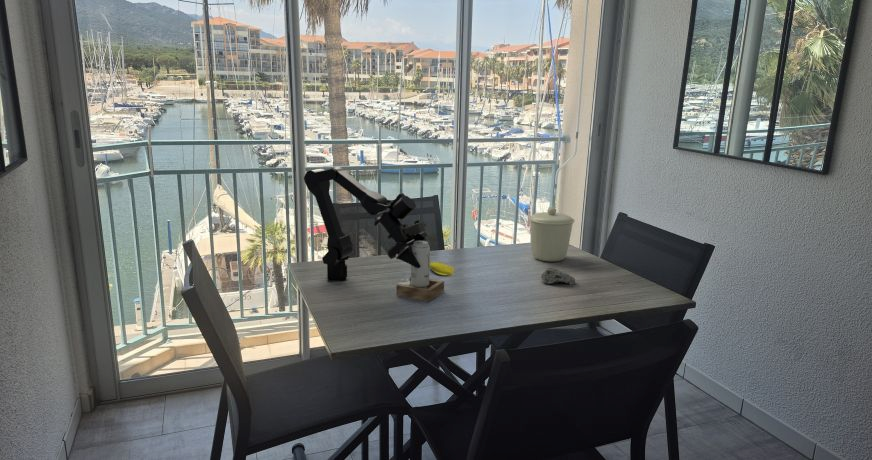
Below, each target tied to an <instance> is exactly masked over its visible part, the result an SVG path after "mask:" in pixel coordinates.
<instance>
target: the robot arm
mask: <svg viewBox="0 0 872 460" xmlns="http://www.w3.org/2000/svg"><path fill="white" fill-rule="evenodd" d="M303 180H304V183H305V186H306V188H307V189H308V191H309V192H310V193H311V194H312V195H313V196H314V198H315V201H316V203H317V207H318V209H319V212H320V216H321V220H322V222H323V225H324V227H325V230H326V234H327V237H328V238H327V243H326V247H327V252H326V253H325V255H323V256H322V257H321V259H322V262H323V264H324V265H326V269H327V271H326V272H327V273H326V274H327V275H326V281H327V282H340V281H341V282H342V281H343V282H344V281H347V277H348V264H346V261H348V260H349V257H350V256H351V255H352V253H353V250H354V249H353V246H354V244H353V242H352V240H351V236H350V234H345V232H343V231H342V227H341V225H340V222H339V219H338V216H337V212H336V210H335V207H334V204H333V200H332V198H331V195H330V187H331V180H332V181H334V182H335V183H336V184H338V185H339V186H340V187H342V188H343V189H344V190H345V191H347V192H348V193H349V194H350V195H352V196H353V197H354V198H356V200H358V201H359V203H360V205H361V207H362V209H364V211H366V212H367V214H369V215H371V216H376V215H379V214H381V215H380V216H376V217H374V224H373V226H374V227H376V226H380V225H381V227H383V229H384V230H385V232H387V233H386V234H388V236H387V238H388V239H389V240H391V239H392V240H393V242H394V244H393V245H392V246H391V247H390V248H389V249H388V250H387V251H386V252H387V253H386V254H387V257H388V258H389V259H390V260H393V259H395V258H396V260H400V261H403V263H407V264H408V265H410V266H411V265H412V266H414V267H416V268H420V267H421V266H420V264H419V262H418V261H417V259H416V258H415V256H414V255H413V253H412V245H413V242H414V241H426V239H427V238H428V237H429V235H428V234H427V233H426V232H425V231H426V223H425V222H424V221H423V220H422V219H421V218H420V219H417V220H415V221H414V224H412V225H408V224H407V223H404V224H403V222H402V221H401V220H405V219H406V218H407V217H408V216H409V215H410V214H411V213H412V212H413V211H414V210H415V209H416V208H417V205H416V203H415V200H414V199H412V198H411V197H410V196H408V195H405V193H403V192H401V193H399V194H398V195H397V196H396V198H394V199H393V200H391V199H387V197H386V196H385V195H383V194H381V193H378V192H376V191H373V190H371V189H369V188H367V187H366V186H364V185H363V184H362V183H361V182H359V181H358V180H357V179H355V178H354V177H353V176H351V175H350V174H349V173H348V172H346V171H345V170H344V168H343V167H341V166H336V167H332V168H329V169H326V170H325V169H323V168H317V169H310V170H308V171H306V172H305V174H304V176H303Z"/></svg>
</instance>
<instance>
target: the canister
mask: <svg viewBox="0 0 872 460" xmlns="http://www.w3.org/2000/svg"><path fill="white" fill-rule="evenodd" d="M528 220H529V225H530V226H529V227H530V229H529V230H530V231H529V232H530V245H531V253H532V256H533V257H534V258H535V259H536V260H539V261H541V262H549V263H550V262H551V263H553V262H555V263H556V262H561V261H563V260H564V259H565V258H566V256H567V254H568V250H569V246H570V241H571V240H570V239H571V235H572V228H573V224H574V223H575V219H574V218H573V217H571V216H570V215H568V214H566V213H565V214H564V213H561V212H560V213H559V212H557V209H556V207H554V206H553V207H552V206H551V207H550V206H549V207H548V209H547V211H546V212H545V211H544V212H535V213H533V214H532V215H530V216H528Z"/></svg>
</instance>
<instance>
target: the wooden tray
mask: <svg viewBox="0 0 872 460" xmlns="http://www.w3.org/2000/svg"><path fill="white" fill-rule="evenodd" d="M409 281H410V284H409V285H403V284H399V283H398V284H396V287H395V288H396V293H395V294H396V296H399V297H404V298H409V299H415V300H419V301H420V300H421V301H426V302H431V301H432V300H433V299H435V298H436V297H438V296H439V295H441V294H442V293H444V292H445V281H444V280H439V279H433V278H429V285H428V286H427V288H420V287H414V286H412V285H411V276H410V277H409Z"/></svg>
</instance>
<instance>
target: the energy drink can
mask: <svg viewBox="0 0 872 460" xmlns="http://www.w3.org/2000/svg"><path fill="white" fill-rule="evenodd" d="M412 253H413V255H414V256H415V258H416V259H417V261H418V262H419V264H420V266H421V267H420V268H416V267H414V266H412V265H410V277H411V285H412V286H414V287H420V288H427V286H428V285H429V279H430V269H431V268H430V262H431V260H430V258H431V257H430V256H431V248H430V245H429V242H428V241H414V242H413V245H412Z"/></svg>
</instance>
